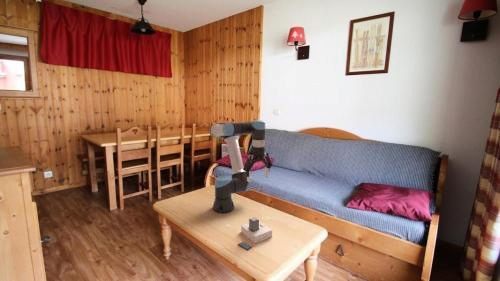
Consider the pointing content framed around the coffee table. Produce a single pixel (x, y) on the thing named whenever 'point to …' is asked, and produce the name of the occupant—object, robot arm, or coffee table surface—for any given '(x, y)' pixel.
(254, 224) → the block
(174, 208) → the coffee table surface
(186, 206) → the coffee table surface
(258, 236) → the outlet plate
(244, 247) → the phone
